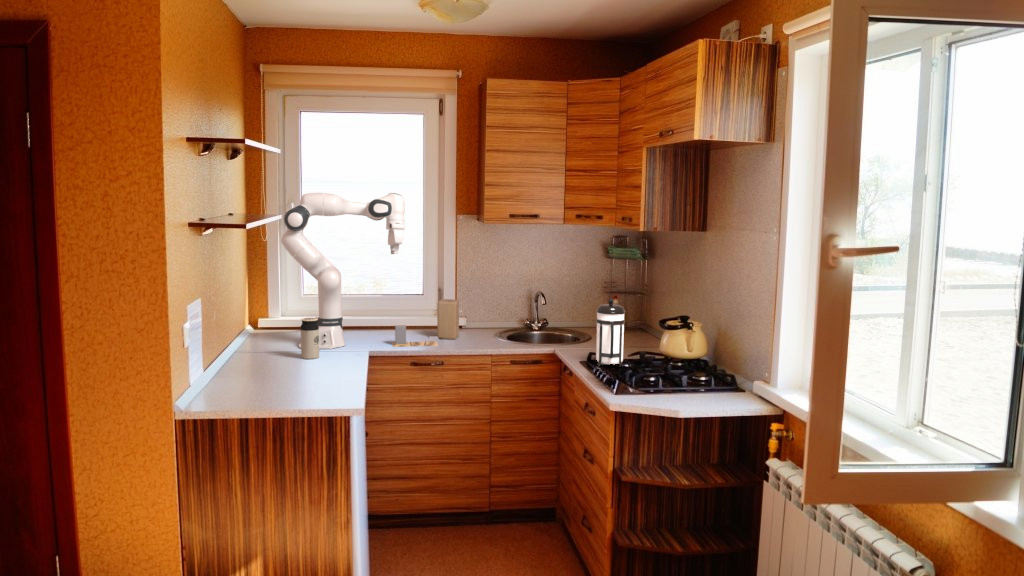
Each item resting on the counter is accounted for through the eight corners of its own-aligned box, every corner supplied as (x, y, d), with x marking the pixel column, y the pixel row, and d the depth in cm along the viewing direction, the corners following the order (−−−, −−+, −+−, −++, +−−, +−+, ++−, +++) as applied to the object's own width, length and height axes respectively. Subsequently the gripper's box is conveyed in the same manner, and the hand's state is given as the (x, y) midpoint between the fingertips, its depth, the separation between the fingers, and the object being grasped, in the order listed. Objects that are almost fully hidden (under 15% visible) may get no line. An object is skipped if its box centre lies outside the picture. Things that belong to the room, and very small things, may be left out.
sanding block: (395, 345, 373) (395, 327, 372) (395, 343, 378) (395, 325, 377) (406, 345, 374) (406, 327, 373) (405, 343, 379) (405, 325, 378)
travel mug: (297, 357, 349) (296, 319, 347) (311, 355, 355) (310, 316, 353) (309, 360, 344) (308, 320, 342) (322, 357, 351) (322, 318, 349)
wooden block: (459, 336, 408) (459, 299, 406) (455, 339, 398) (456, 301, 396) (440, 335, 409) (440, 298, 407) (437, 339, 399) (437, 301, 397)
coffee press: (583, 364, 342) (585, 298, 338) (609, 360, 351) (611, 295, 348) (611, 371, 328) (613, 302, 325) (637, 367, 338) (639, 300, 334)
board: (393, 349, 370) (392, 346, 369) (392, 345, 381) (392, 342, 381) (438, 348, 374) (438, 345, 374) (436, 344, 386) (436, 341, 385)
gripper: (385, 226, 388) (384, 254, 388) (392, 224, 368) (391, 253, 369) (397, 227, 390) (396, 254, 390) (405, 225, 370) (404, 253, 371)
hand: (394, 253), depth 379 cm, fingers open, 8 cm apart
